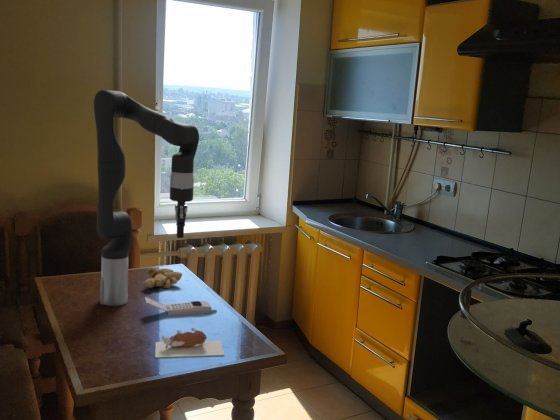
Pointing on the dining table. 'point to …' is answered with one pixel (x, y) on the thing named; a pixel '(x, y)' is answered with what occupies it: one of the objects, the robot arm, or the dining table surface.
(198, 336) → the bull figurine
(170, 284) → the ginger root
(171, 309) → the mobile phone
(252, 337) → the dining table surface
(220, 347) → the mat
